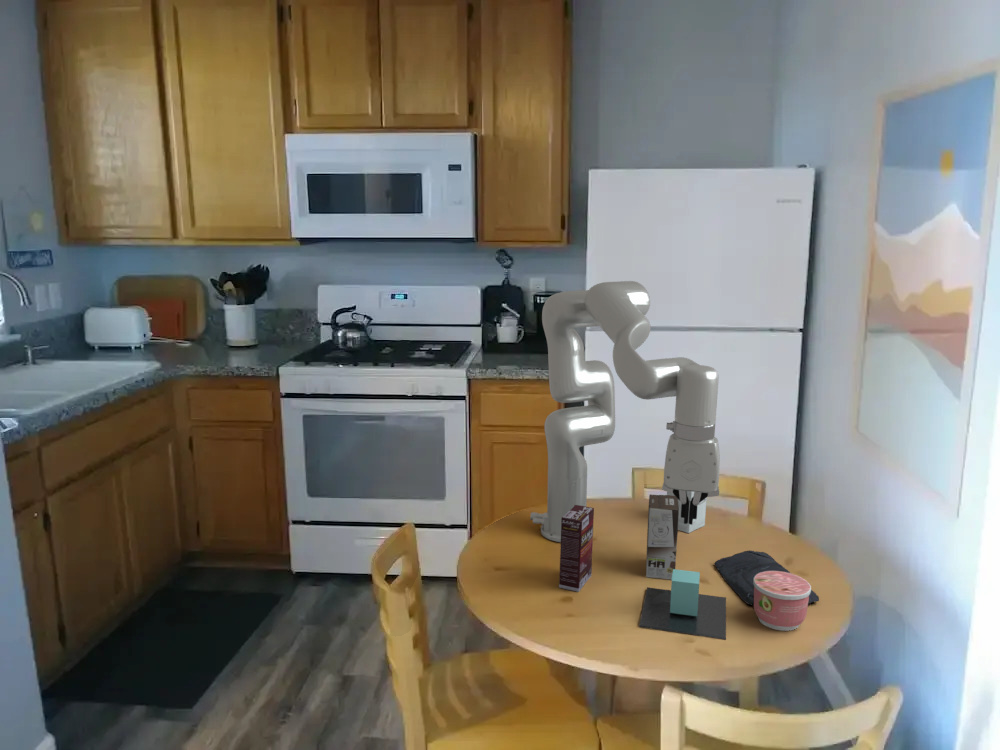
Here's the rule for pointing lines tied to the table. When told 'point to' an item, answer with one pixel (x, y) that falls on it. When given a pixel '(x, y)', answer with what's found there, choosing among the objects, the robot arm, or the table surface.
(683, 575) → the teal rectangular block
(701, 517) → the supplement box
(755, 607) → the container
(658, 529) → the coffee box
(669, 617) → the brushed steel sheet
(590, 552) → the supplement box
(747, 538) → the table surface
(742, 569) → the dark fabric pouch
